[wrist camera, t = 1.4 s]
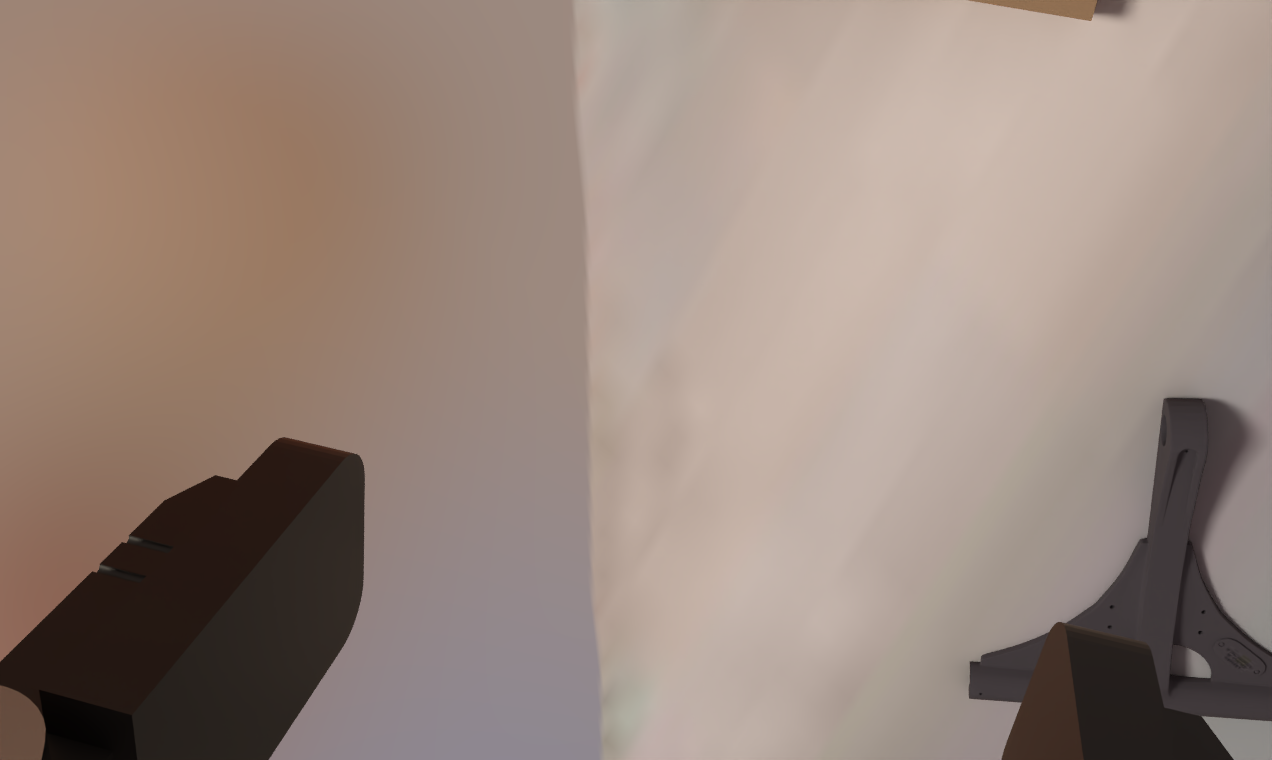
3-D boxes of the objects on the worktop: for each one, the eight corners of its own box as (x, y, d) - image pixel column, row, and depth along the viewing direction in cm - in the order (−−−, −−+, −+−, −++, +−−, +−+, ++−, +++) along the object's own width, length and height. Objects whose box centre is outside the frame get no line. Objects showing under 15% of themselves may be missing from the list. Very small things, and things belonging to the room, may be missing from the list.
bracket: (1395, 390, 43) (1421, 428, 41) (1328, 707, 50) (1346, 755, 48) (979, 382, 47) (980, 417, 45) (968, 678, 54) (968, 723, 51)
